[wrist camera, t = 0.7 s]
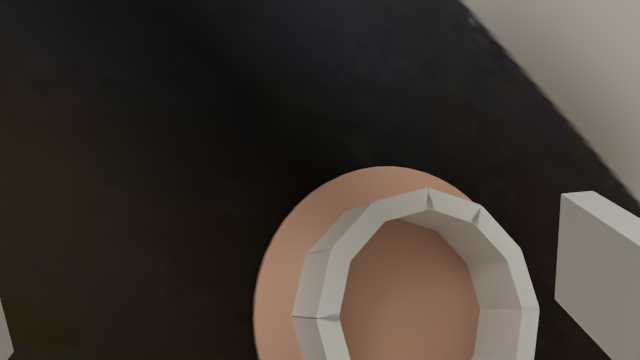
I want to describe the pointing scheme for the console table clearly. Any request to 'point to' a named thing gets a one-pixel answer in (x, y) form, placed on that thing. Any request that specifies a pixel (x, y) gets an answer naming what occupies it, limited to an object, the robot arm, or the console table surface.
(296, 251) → the white and pink ring
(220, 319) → the console table surface
